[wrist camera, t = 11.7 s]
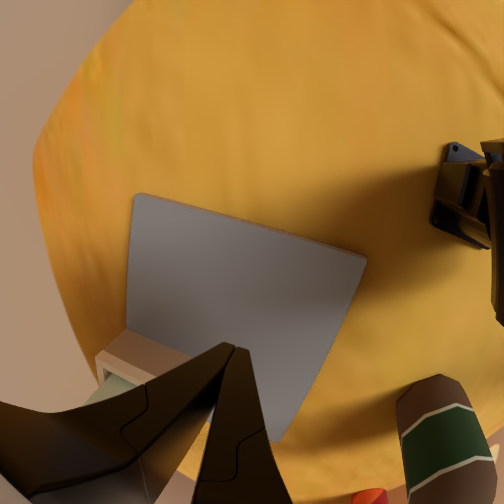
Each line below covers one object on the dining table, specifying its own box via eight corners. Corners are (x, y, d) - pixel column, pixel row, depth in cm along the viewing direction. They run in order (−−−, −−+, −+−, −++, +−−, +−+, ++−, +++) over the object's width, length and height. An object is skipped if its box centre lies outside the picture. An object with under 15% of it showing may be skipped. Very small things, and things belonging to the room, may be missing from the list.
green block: (166, 392, 21) (132, 442, 15) (164, 423, 23) (137, 467, 17) (116, 368, 22) (78, 410, 16) (120, 401, 23) (89, 440, 18)
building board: (365, 256, 20) (383, 291, 14) (279, 436, 27) (270, 480, 21) (141, 192, 22) (90, 203, 16) (132, 382, 29) (105, 415, 23)
